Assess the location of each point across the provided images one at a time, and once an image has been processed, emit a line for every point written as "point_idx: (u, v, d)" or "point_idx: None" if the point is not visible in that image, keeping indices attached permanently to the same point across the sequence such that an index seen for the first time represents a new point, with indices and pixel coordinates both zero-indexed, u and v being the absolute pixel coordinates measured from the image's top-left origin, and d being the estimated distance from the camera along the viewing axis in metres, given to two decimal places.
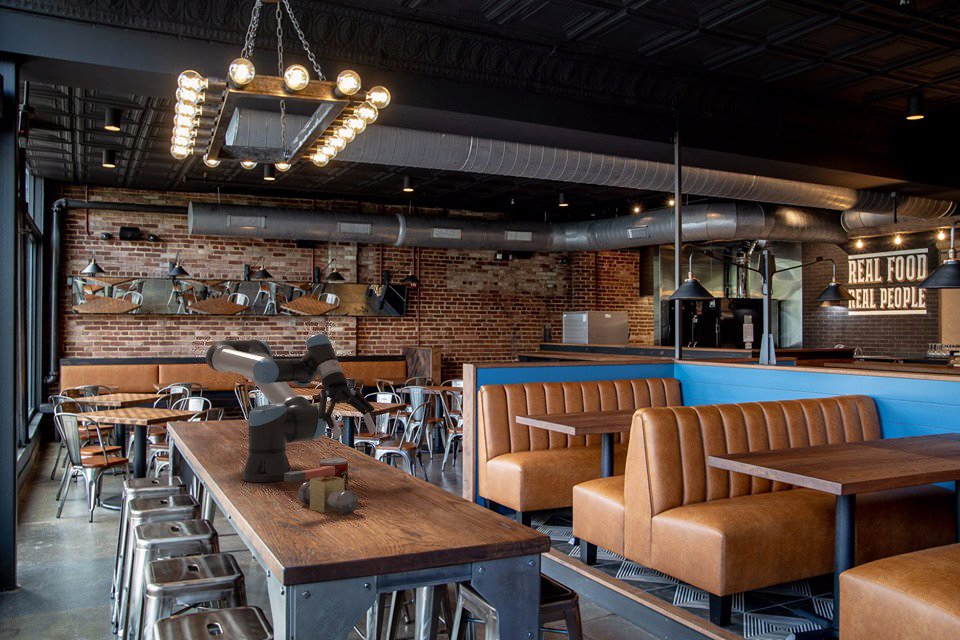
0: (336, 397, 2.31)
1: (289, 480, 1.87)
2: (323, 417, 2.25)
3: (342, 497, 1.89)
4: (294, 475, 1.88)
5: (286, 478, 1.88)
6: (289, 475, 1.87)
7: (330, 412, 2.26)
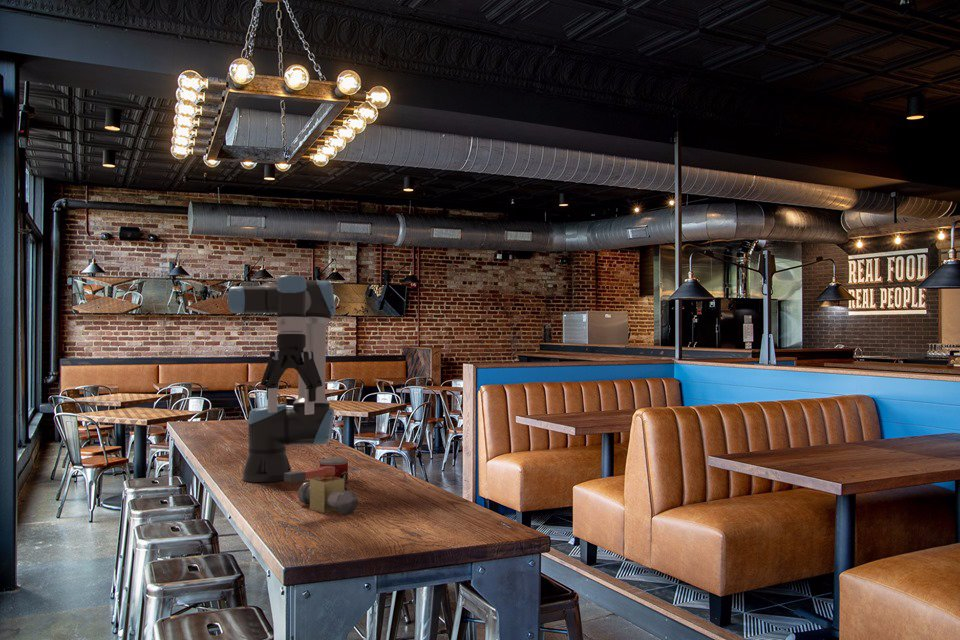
0: (278, 365, 1.97)
1: (289, 480, 1.87)
2: None
3: (342, 497, 1.89)
4: (294, 475, 1.88)
5: (286, 478, 1.88)
6: (289, 475, 1.87)
7: (268, 383, 2.00)
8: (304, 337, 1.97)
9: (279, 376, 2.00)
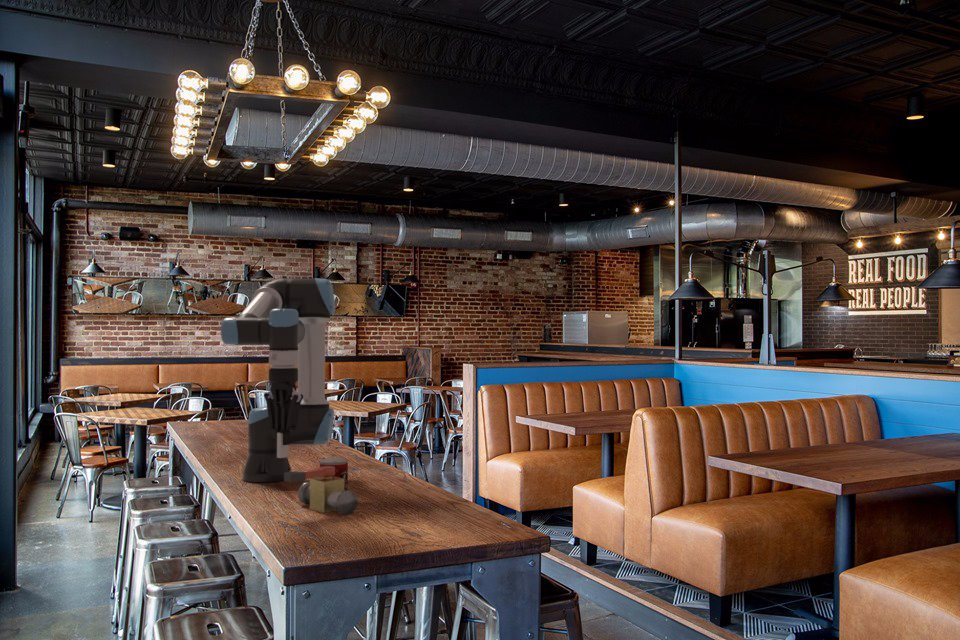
0: (274, 402, 1.94)
1: (289, 480, 1.87)
2: None
3: (342, 497, 1.89)
4: (294, 475, 1.88)
5: (286, 478, 1.88)
6: (289, 475, 1.87)
7: (276, 426, 1.95)
8: (296, 371, 1.94)
9: None
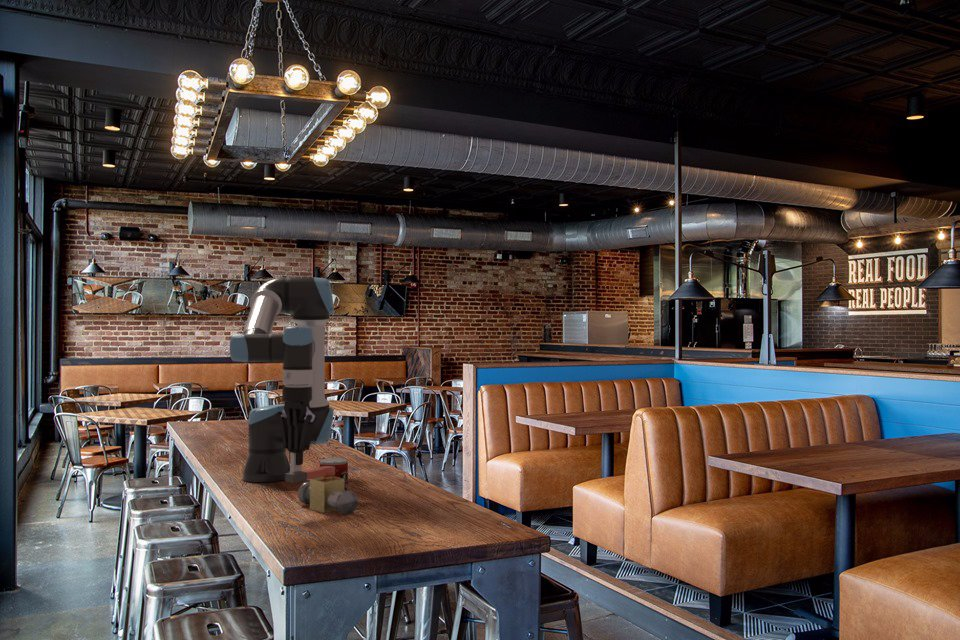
0: (288, 421, 1.91)
1: (291, 480, 1.87)
2: None
3: (342, 497, 1.89)
4: (296, 475, 1.87)
5: (288, 478, 1.88)
6: (291, 475, 1.87)
7: (289, 445, 1.91)
8: (310, 390, 1.91)
9: None
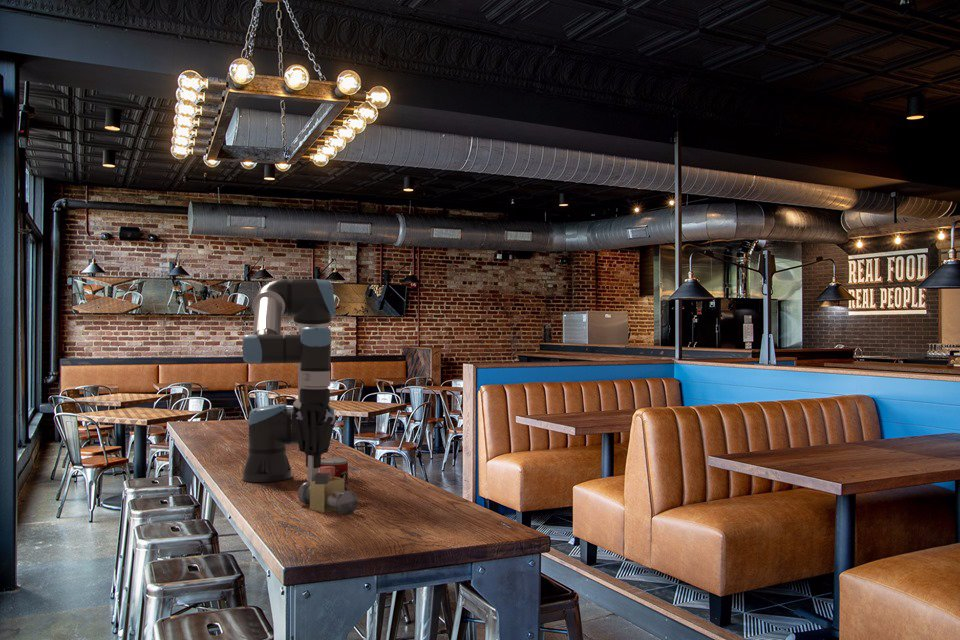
0: (305, 424, 1.88)
1: (325, 482, 1.85)
2: None
3: (342, 497, 1.89)
4: (327, 476, 1.86)
5: (319, 481, 1.84)
6: (324, 477, 1.85)
7: (306, 448, 1.88)
8: (329, 392, 1.88)
9: (313, 436, 1.89)
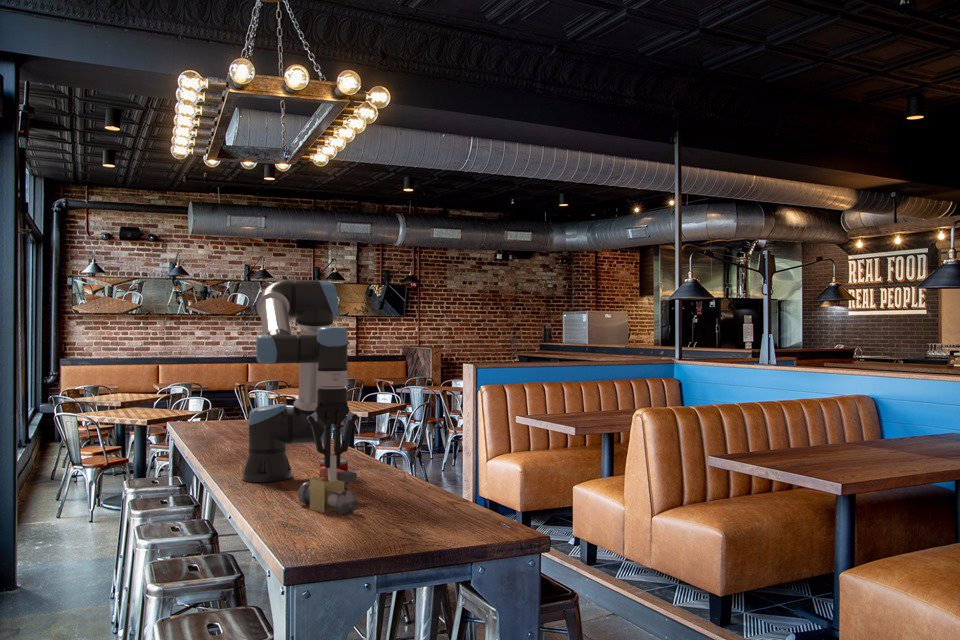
0: (328, 424, 1.87)
1: (354, 479, 1.88)
2: (321, 453, 1.87)
3: (342, 497, 1.89)
4: None
5: (349, 479, 1.87)
6: (354, 474, 1.88)
7: (327, 449, 1.87)
8: None
9: None
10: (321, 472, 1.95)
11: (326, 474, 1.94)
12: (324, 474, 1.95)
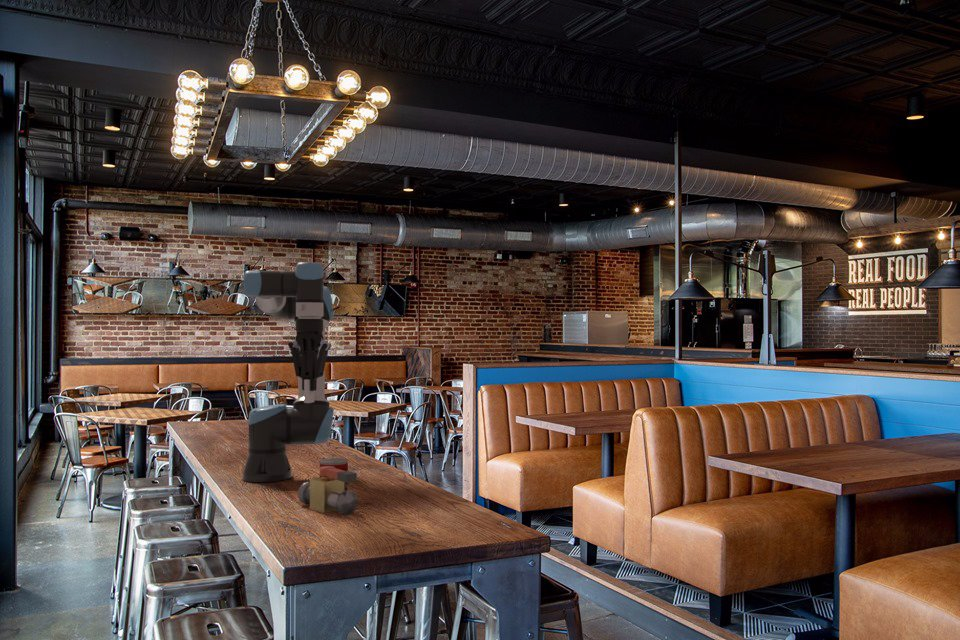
0: (302, 351, 2.05)
1: (354, 479, 1.88)
2: None
3: (342, 497, 1.89)
4: None
5: (349, 479, 1.87)
6: (354, 474, 1.88)
7: (302, 373, 2.06)
8: (322, 322, 2.06)
9: (308, 363, 2.07)
10: (321, 472, 1.95)
11: (326, 474, 1.94)
12: (324, 474, 1.95)
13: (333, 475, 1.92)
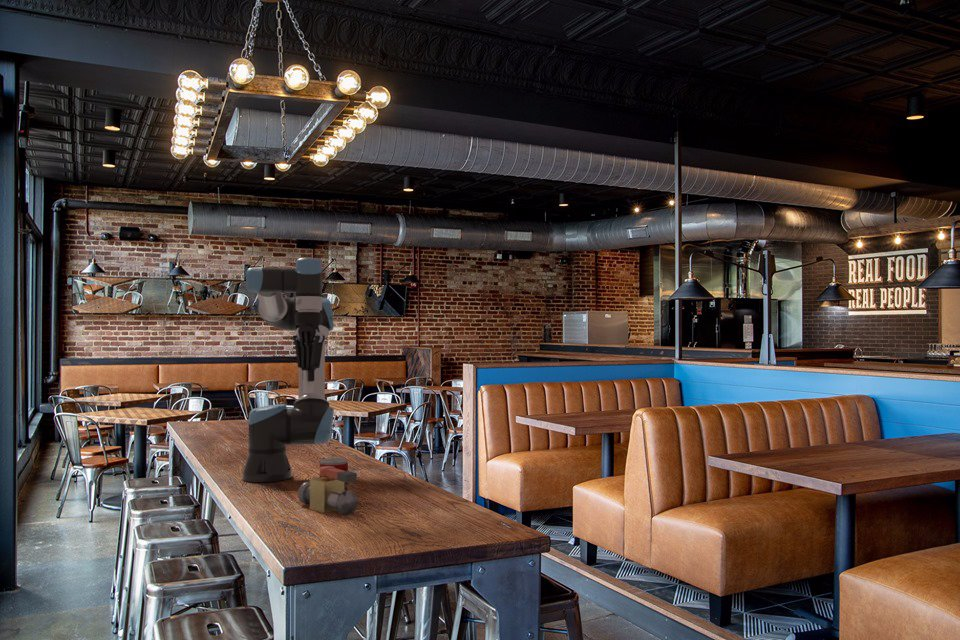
0: (301, 343, 2.15)
1: (354, 479, 1.88)
2: None
3: (342, 497, 1.89)
4: None
5: (349, 479, 1.87)
6: (354, 474, 1.88)
7: (302, 364, 2.15)
8: (319, 315, 2.14)
9: None
10: (321, 472, 1.95)
11: (326, 474, 1.94)
12: (324, 474, 1.95)
13: (333, 475, 1.92)
